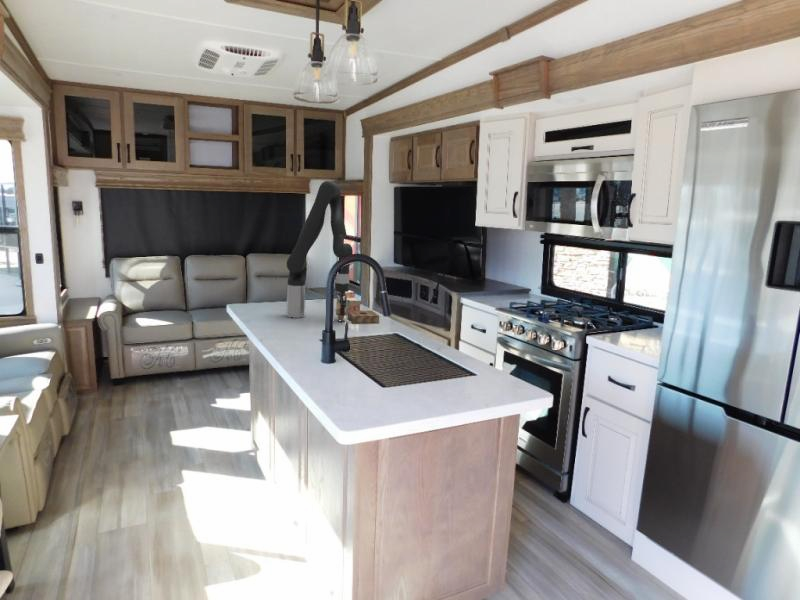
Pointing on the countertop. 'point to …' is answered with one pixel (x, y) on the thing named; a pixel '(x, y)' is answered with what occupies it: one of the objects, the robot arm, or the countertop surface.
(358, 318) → the walnut board
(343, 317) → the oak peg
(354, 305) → the stack of blocks
